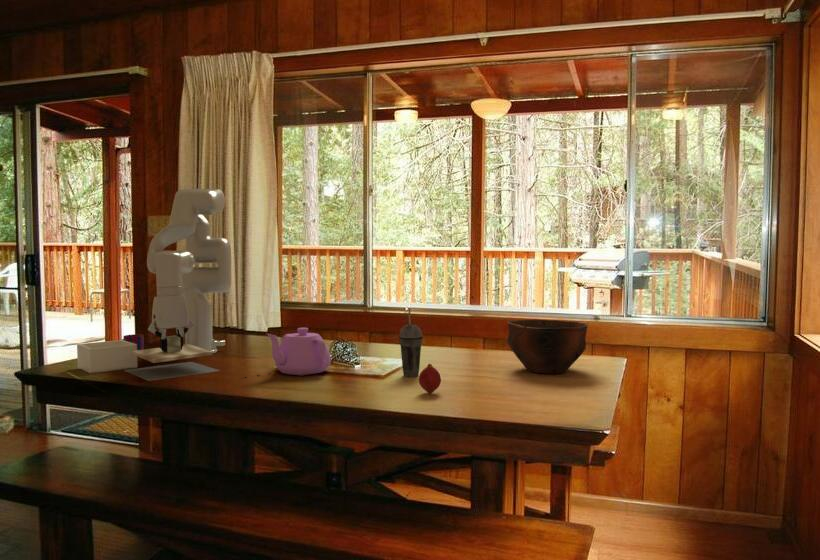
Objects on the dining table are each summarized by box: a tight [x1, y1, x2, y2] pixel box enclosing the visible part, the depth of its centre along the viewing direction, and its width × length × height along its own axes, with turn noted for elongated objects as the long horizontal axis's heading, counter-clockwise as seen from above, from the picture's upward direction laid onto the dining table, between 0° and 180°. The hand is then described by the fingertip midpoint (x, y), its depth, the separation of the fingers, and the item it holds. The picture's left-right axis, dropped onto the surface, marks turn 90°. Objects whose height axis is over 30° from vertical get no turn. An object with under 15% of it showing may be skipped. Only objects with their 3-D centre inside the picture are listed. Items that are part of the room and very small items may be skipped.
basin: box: [76, 339, 138, 374], centre depth 208 cm, size 14×14×8 cm
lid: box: [132, 335, 213, 364], centre depth 202 cm, size 18×18×6 cm
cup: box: [121, 333, 145, 350], centre depth 236 cm, size 7×10×7 cm
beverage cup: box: [398, 309, 424, 378], centre depth 194 cm, size 7×7×20 cm
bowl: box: [506, 319, 589, 374], centre depth 201 cm, size 25×25×15 cm
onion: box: [418, 363, 442, 394], centre depth 170 cm, size 6×6×8 cm
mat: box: [122, 361, 221, 382], centre depth 202 cm, size 22×22×1 cm
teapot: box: [266, 327, 332, 377], centre depth 199 cm, size 22×22×14 cm
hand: (171, 349), depth 202 cm, fingers closed on lid, 4 cm apart
